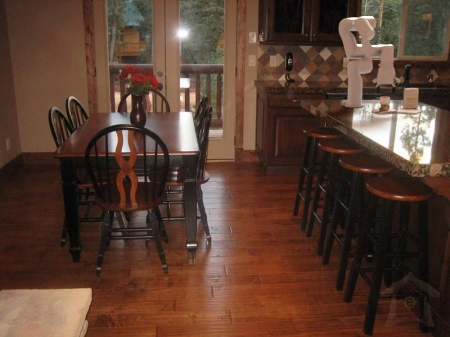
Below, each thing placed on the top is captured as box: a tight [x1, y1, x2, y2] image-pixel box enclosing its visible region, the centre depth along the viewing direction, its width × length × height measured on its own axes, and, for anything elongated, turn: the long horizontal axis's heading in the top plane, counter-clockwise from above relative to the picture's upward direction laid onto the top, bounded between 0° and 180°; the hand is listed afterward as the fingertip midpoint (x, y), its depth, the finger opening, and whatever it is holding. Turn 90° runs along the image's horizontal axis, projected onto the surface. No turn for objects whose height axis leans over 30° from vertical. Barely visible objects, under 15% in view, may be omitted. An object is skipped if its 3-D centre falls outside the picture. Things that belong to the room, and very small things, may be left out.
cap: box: [379, 96, 391, 106], centre depth 292 cm, size 6×6×5 cm
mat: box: [396, 108, 424, 115], centre depth 288 cm, size 12×12×1 cm
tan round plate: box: [371, 104, 398, 115], centre depth 293 cm, size 15×15×5 cm
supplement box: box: [402, 87, 420, 110], centre depth 301 cm, size 8×5×13 cm, turn 84°
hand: (385, 93), depth 290 cm, fingers open, 9 cm apart
